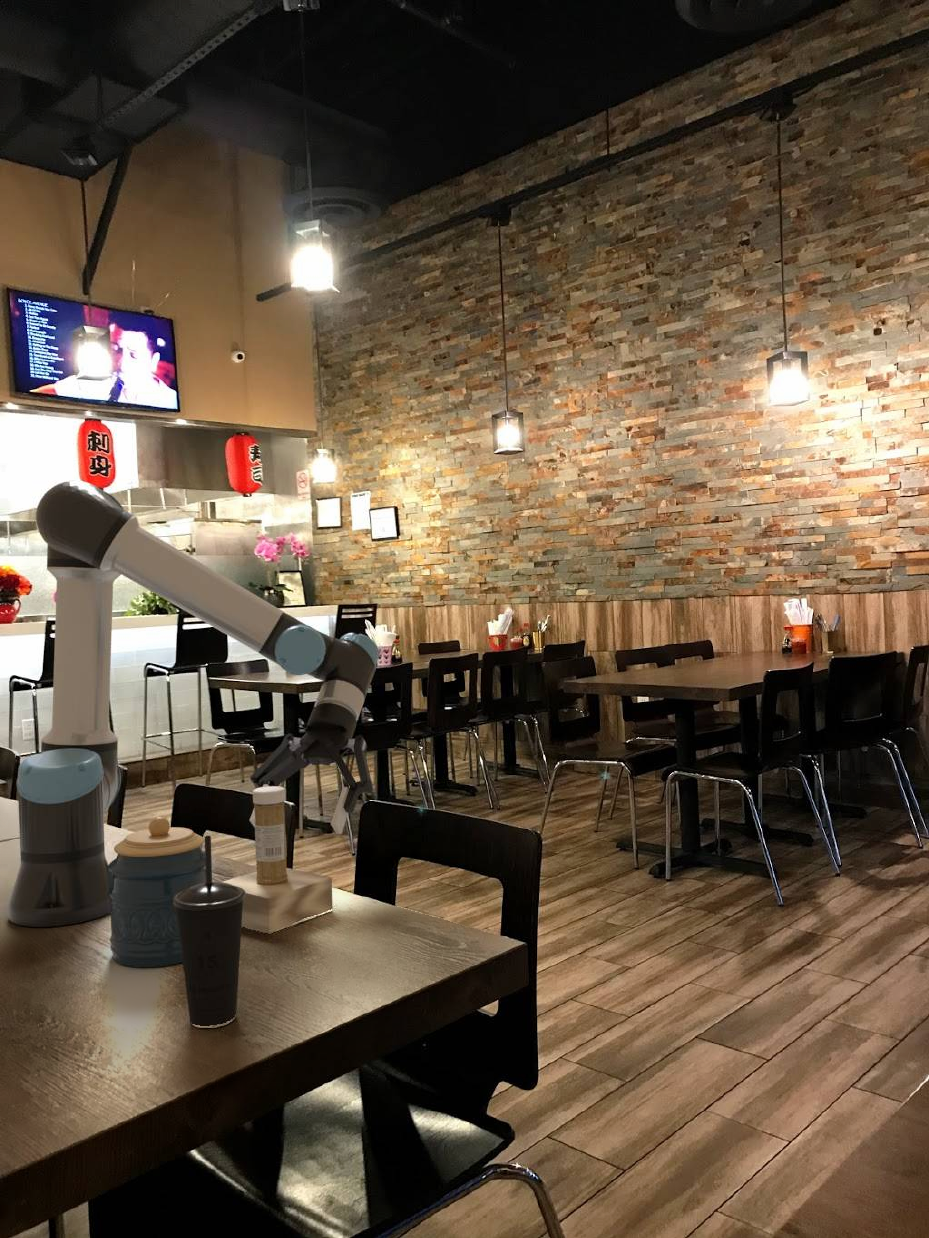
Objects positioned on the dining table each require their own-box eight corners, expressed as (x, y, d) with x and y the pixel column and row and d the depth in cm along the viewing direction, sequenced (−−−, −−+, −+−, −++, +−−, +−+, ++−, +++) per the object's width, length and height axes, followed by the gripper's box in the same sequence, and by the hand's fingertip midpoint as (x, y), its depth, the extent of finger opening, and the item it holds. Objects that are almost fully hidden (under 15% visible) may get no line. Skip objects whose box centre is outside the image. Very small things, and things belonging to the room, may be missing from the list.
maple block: (269, 934, 134) (268, 898, 134) (213, 919, 142) (212, 884, 142) (332, 911, 144) (331, 877, 144) (276, 898, 151) (276, 865, 151)
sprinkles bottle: (289, 875, 145) (286, 784, 145) (285, 884, 141) (282, 790, 141) (258, 877, 145) (255, 785, 145) (253, 886, 141) (250, 791, 140)
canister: (235, 944, 131) (231, 812, 131) (154, 977, 120) (150, 832, 120) (170, 928, 138) (166, 803, 138) (89, 957, 128) (84, 821, 127)
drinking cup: (173, 1012, 110) (168, 832, 109) (243, 1000, 112) (238, 825, 112) (179, 1040, 102) (173, 848, 102) (253, 1027, 105) (248, 840, 105)
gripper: (412, 729, 161) (379, 844, 147) (276, 727, 169) (232, 836, 155) (399, 700, 156) (363, 816, 142) (259, 700, 164) (212, 810, 150)
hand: (294, 827), depth 148 cm, fingers open, 13 cm apart
